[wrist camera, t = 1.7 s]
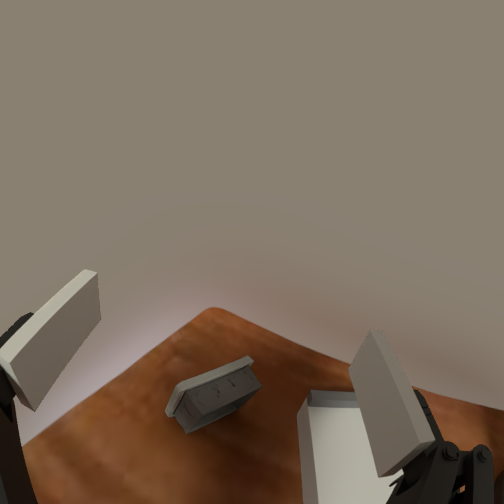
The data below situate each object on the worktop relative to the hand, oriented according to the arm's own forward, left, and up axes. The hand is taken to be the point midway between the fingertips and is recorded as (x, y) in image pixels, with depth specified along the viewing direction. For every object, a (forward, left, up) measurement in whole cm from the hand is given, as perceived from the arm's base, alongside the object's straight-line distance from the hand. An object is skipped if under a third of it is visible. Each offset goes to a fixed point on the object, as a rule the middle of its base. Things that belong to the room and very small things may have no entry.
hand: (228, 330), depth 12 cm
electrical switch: (0, -10, -22) cm, 24 cm away
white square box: (-19, -3, -22) cm, 29 cm away
